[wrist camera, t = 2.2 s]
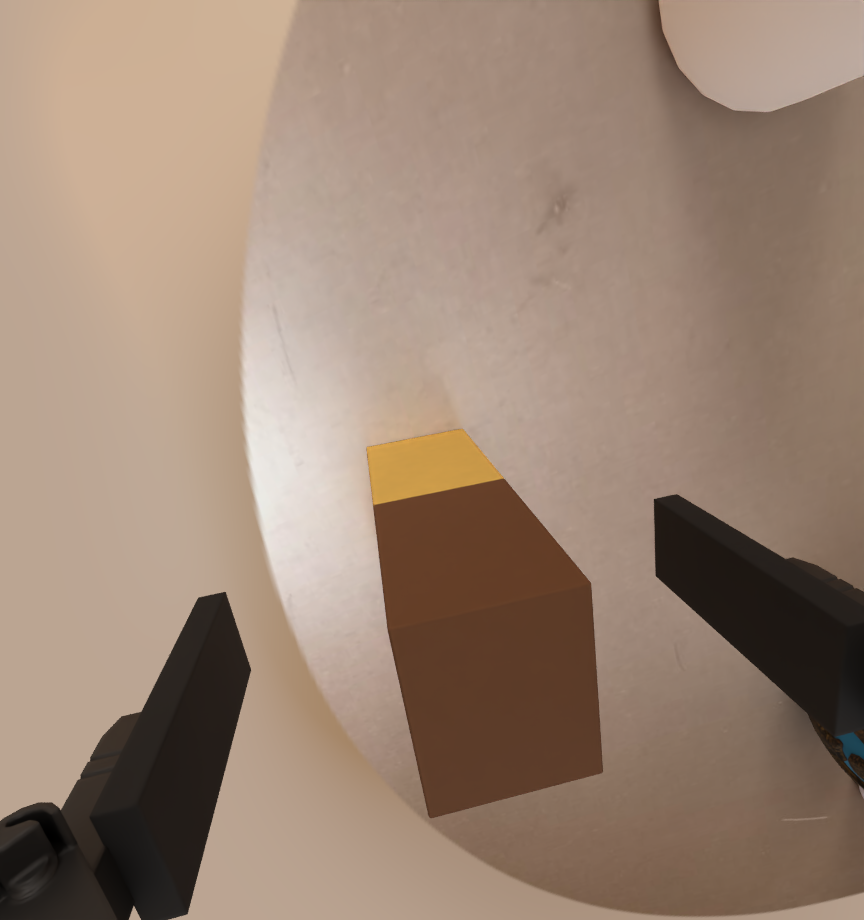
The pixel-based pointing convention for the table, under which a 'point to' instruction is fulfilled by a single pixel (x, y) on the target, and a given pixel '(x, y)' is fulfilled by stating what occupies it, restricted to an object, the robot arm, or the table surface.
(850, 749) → the ornament
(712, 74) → the white plastic cylinder
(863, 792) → the spray bottle
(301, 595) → the table surface
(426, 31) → the table surface
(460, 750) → the sponge
